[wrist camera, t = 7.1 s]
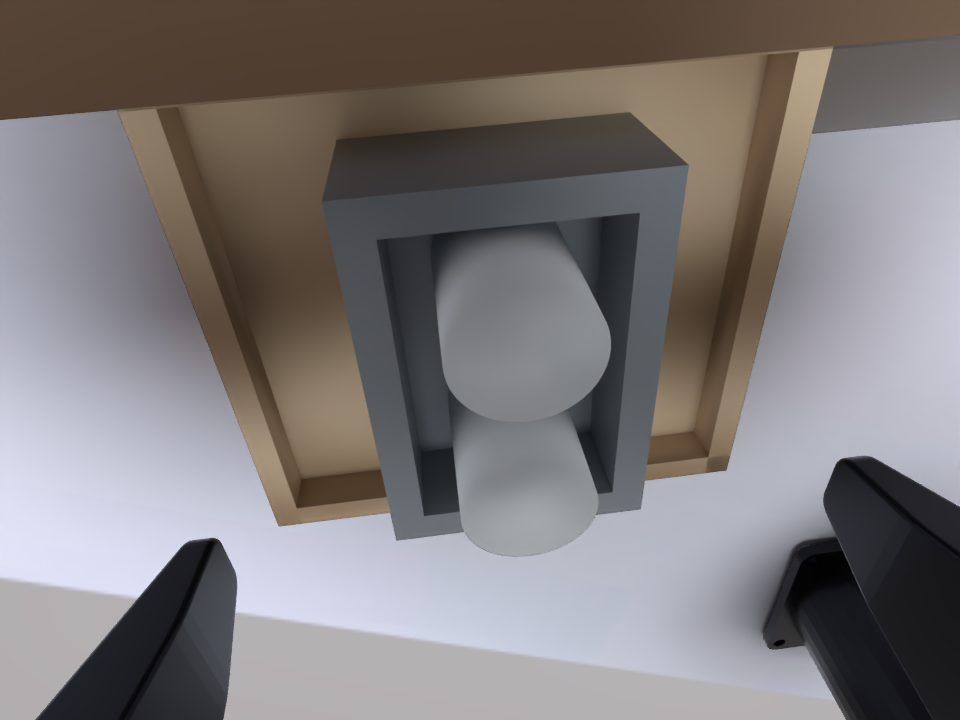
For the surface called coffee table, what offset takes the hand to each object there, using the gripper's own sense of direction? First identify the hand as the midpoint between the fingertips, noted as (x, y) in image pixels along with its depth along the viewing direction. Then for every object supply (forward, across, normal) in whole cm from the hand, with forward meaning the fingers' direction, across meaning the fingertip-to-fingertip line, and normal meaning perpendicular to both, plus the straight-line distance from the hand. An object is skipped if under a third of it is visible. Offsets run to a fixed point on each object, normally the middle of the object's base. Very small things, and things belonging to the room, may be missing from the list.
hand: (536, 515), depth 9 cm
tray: (+6, 0, 0) cm, 6 cm away
